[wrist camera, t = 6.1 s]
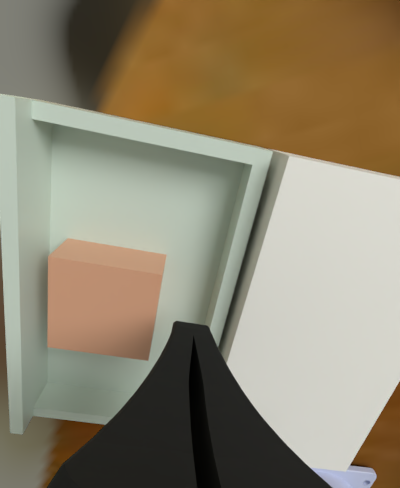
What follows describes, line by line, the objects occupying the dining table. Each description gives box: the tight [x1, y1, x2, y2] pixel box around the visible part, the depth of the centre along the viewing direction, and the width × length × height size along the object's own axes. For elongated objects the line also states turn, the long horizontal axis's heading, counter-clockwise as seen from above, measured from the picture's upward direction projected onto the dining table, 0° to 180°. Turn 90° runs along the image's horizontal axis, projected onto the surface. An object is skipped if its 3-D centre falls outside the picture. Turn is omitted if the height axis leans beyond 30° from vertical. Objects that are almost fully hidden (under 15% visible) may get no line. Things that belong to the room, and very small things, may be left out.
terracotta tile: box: [47, 238, 167, 361], centre depth 14 cm, size 4×4×2 cm
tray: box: [0, 94, 273, 435], centre depth 14 cm, size 15×9×3 cm, turn 169°
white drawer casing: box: [218, 149, 400, 472], centre depth 14 cm, size 15×8×3 cm, turn 169°
